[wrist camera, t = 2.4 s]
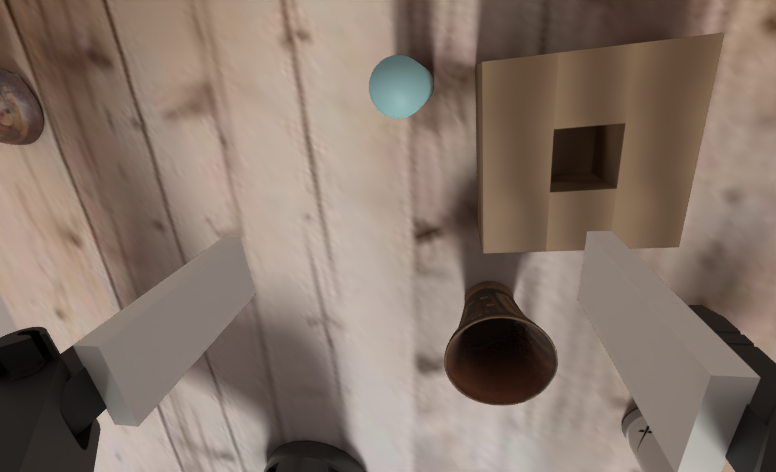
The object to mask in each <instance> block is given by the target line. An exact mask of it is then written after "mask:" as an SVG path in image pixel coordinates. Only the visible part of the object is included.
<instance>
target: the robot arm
mask: <svg viewBox="0 0 776 472" xmlns="http://www.w3.org/2000/svg"><path fill="white" fill-rule="evenodd" d="M255 294H256V293H255V289H254V286H253V282H252V278H251V275H250V271H249V267H248V263H247V260H246V256H245V252H244V248H243V245H242V241H241V237H223V238H221V239H220V240H219V241H217V242H216V243H214V244H213V245H212V246H210V247H209V248H208V249H206V250H205V251H203V252H202V253H201V254H199V255H198V256H196V257H195V258H194V259H192V260H191V261H189V262H188V263H187V264H185V265H184V266H182V267H181V268H180V269H178V270H177V271H175V272H174V273H173V274H171V275H170V276H168V277H167V278H166V279H164V280H163V281H162V282H160V283H159V284H157V285H156V286H155V287H153V288H152V289H150V290H149V291H148V292H146V293H145V294H143V295H142V296H141V297H139V298H138V299H136V300H135V301H134V302H132V303H131V304H129V305H128V306H127V307H125V308H124V309H123V310H121V311H120V312H118V313H117V314H116V315H114V316H113V317H111V318H110V319H109V320H107V321H106V322H104V323H103V324H102V325H100V326H99V327H97V328H96V329H95V330H93V331H92V332H90V333H89V334H88V335H86V336H85V337H84V338H82V339H81V340H79V341H78V342H77V343H75V344H74V345H73V346H71V347H70V348H68V349H67V350H66V351H64V352H63V353H61V354H60V353H59V351H58V349H57V347H56V346H55V344H54V342H53V340H52V339H51V337H50V335H49V333H48V331H47V330H46V329H45V328H43V327H31V328H26V329H22V330H18V331H16V332H13V333H10V334H7V335H5V336H3V337H1V338H0V472H94V466H95V460H96V454H97V448H98V442H99V436H100V424H99V423H98V421H97V419H96V418H97V417H98V416H99V415H100V414H101V413H102V412H103V411H104V410H105V409H107V411H108V413H109V414H110V416H111V418H112V420H113V422H114V424H117V425H128V426H139V425H140V424H141V423H142V422H143V421H144V420H145V419H146V417H147V416H148V415H149V414H150V413H151V412H152V411H153V410H154V408H155V407H156V406H157V405H158V404H159V403H160V402H161V401H162V399H163V398H164V397H165V396H166V395H167V394H168V393H169V391H170V390H171V389H172V388H173V387H174V386H175V385H176V384H177V382H178V381H179V380H180V379H181V378H182V377H183V376H184V375H185V373H186V372H187V371H188V370H189V369H190V368H191V367H192V366H193V364H194V363H195V362H196V361H197V360H198V359H199V358H200V357H201V355H202V354H203V353H204V352H205V351H206V350H207V349H208V347H209V346H210V345H211V344H212V343H213V342H214V341H215V340H216V338H217V337H218V336H219V335H220V334H221V333H222V332H223V331H224V329H225V328H226V327H227V326H228V325H229V324H230V323H231V322H232V320H233V319H234V318H235V317H236V316H237V315H238V314H239V313H240V311H241V310H242V309H243V308H244V307H245V306H246V305H247V303H248V302H249V301H250V300H251V299H252V298H253V297H254V296H255ZM578 301H579V302H580V304H581V306H582V308H583V310H584V311H585V313H586V315H587V317H588V319H589V320H590V322H591V324H592V326H593V327H594V329H595V331H596V333H597V335H598V336H599V338H600V340H601V342H602V344H603V345H604V347H605V349H606V351H607V352H608V354H609V356H610V358H611V360H612V361H613V363H614V365H615V367H616V369H617V370H618V372H619V374H620V376H621V377H622V379H623V381H624V383H625V385H626V386H627V388H628V390H629V392H630V394H631V395H632V397H633V399H634V401H635V402H636V404H637V406H638V408H639V410H640V411H641V413H642V415H643V417H644V419H645V420H646V422H647V424H648V426H649V428H650V429H651V431H652V433H653V435H654V436H655V438H656V440H657V442H658V444H659V445H660V447H661V449H662V451H663V453H664V454H665V456H666V458H667V460H668V461H669V463H670V465H671V467H672V469H673V470H674V472H721V471H722V469H723V466H724V464H725V462H726V459H727V460H728V461H729V463H730V464H731V466H732V467H733V469H734V470H735V472H776V363H775V362H773V360H771V359H770V358H769V357H768V356H767V355H766V354H765V353H764V352H762V351H761V350H760V349H759V348H758V347H754V343H752V342H751V341H750V340H749V339H748V338H747V337H746V336H745V335H741V334H740V331H739V330H738V329H737V328H736V327H734V326H733V325H732V324H731V323H730V322H729V321H728V320H727V319H726V318H724V317H723V316H721V315H719V314H717V313H715V312H713V311H711V310H710V309H708V308H706V307H704V306H702V305H686V304H685V303H684V302H683V301H682V300H681V299H680V298H679V297H678V296H677V295H676V294H675V293H674V292H673V291H672V290H671V289H670V288H669V287H668V286H667V285H666V284H665V283H664V282H663V281H662V280H661V279H660V278H659V277H658V276H657V275H656V274H655V273H654V272H653V271H652V270H651V269H650V268H649V267H648V266H647V265H646V264H645V263H644V262H643V261H642V260H641V259H640V258H638V257H637V256H636V255H635V254H634V253H633V252H632V251H631V250H630V249H629V248H628V247H627V246H626V245H625V244H624V243H623V242H622V241H621V240H620V239H619V238H618V237H617V236H616V235H615V234H614V233H613V232H612V231H587V236H586V243H585V250H584V257H583V264H582V271H581V278H580V285H579V292H578ZM264 472H364V470H363V469H362V467H361V466H360V465H359V464H358V463H357V462H356V461H355V460H354V459H353V458H351V457H350V456H349V455H347V454H346V453H344V452H342V451H340V450H338V449H336V448H334V447H331V446H329V445H325V444H322V443H317V442H309V441H300V442H292V443H289V444H286V445H283V446H281V447H279V448H278V449H277V450H276V451H274V453H273V454H272V455H271V457H270V459H269V461H268V463H267V465H266V468H265V470H264Z"/></svg>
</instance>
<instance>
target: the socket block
mask: <svg viewBox="0 0 776 472" xmlns="http://www.w3.org/2000/svg"><path fill="white" fill-rule="evenodd" d="M723 38H724V33H717V34H709V35H700V36H692V37H684V38H676V39H667V40H659V41H651V42H642V43H634V44H626V45H617V46H609V47H601V48H593V49H584V50H576V51H568V52H559V53H551V54H543V55H535V56H526V57H518V58H510V59H501V60H493V61H485V62H481V63H479V64H477V65H476V66H475V73H476V149H477V224H478V231H479V235H480V240H481V244H482V249H483V253H510V252H541V251H573V250H585V243H586V236H587V231H612V232H613V233H614V234H615V235H616V236H617V237H618V238H619V239H620V240H621V241H622V242H623V243H624V244H625V245H626V246H627V247H628V248H629V249H635V248H667V247H679V244H680V239H681V235H682V230H683V225H684V221H685V216H686V211H687V207H688V202H689V197H690V192H691V188H692V183H693V178H694V174H695V169H696V164H697V160H698V155H699V150H700V146H701V141H702V136H703V132H704V127H705V122H706V117H707V113H708V108H709V103H710V99H711V94H712V89H713V85H714V80H715V75H716V71H717V66H718V61H719V57H720V52H721V47H722V42H723Z"/></svg>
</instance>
